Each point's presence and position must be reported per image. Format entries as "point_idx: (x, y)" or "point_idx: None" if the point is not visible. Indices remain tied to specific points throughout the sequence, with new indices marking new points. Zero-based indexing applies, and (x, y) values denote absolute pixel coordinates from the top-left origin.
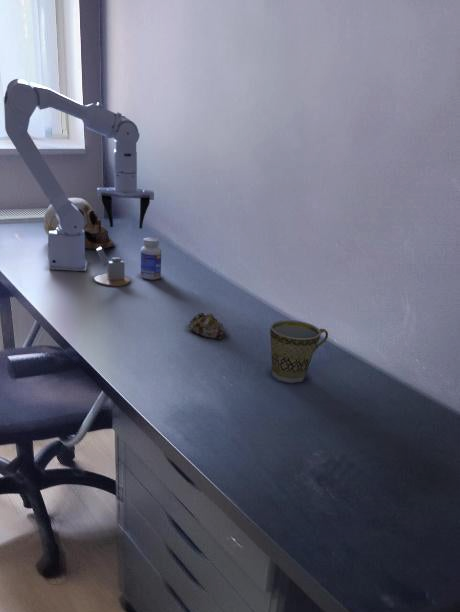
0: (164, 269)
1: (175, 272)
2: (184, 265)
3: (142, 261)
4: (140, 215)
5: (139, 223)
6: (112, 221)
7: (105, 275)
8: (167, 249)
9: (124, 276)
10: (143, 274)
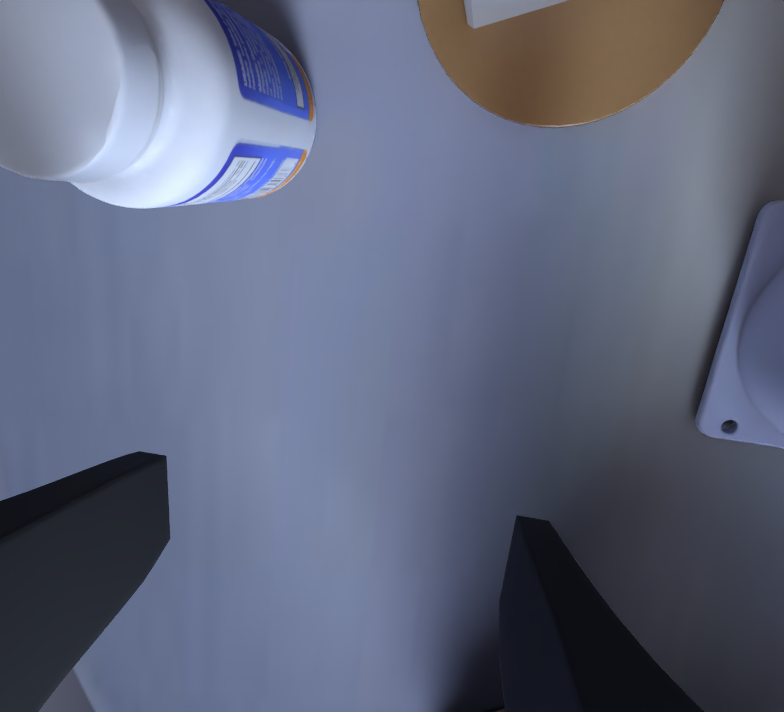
0: (152, 310)
1: (81, 248)
2: (38, 399)
3: (257, 44)
4: (8, 528)
5: (129, 498)
6: (529, 553)
7: (613, 66)
8: (142, 674)
9: (449, 58)
10: (289, 51)
